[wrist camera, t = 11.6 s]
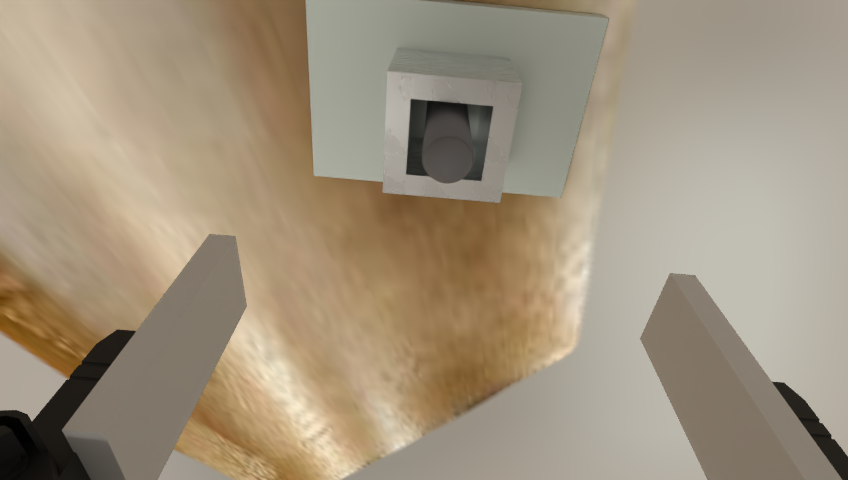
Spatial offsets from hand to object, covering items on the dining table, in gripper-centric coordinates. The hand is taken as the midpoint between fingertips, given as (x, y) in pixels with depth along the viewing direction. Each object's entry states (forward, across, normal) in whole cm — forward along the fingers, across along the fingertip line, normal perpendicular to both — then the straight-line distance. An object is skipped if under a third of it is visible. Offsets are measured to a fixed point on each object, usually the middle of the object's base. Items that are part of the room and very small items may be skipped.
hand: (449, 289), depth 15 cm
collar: (+20, 0, -1) cm, 20 cm away
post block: (+21, 0, 0) cm, 21 cm away
